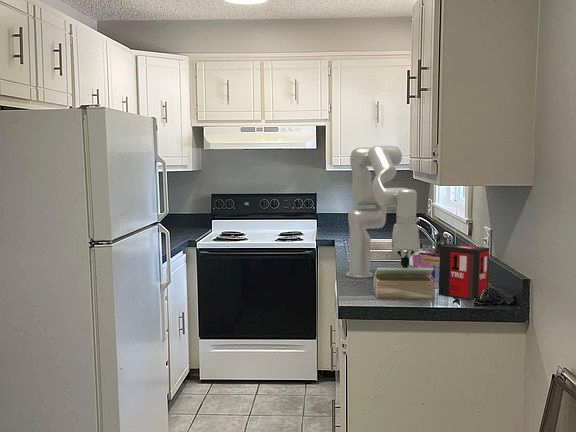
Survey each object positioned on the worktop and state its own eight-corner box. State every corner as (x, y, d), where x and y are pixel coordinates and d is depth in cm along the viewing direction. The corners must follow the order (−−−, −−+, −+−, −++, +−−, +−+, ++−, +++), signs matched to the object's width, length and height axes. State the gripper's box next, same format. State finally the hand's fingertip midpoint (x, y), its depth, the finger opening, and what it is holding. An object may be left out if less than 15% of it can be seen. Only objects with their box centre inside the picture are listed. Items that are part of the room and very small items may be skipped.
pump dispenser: (426, 270, 297) (427, 240, 295) (439, 268, 304) (440, 238, 302) (444, 274, 289) (445, 242, 288) (456, 271, 296) (458, 240, 294)
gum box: (408, 284, 264) (409, 253, 263) (416, 281, 271) (417, 251, 269) (461, 292, 250) (463, 259, 249) (469, 289, 256) (470, 257, 255)
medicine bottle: (412, 263, 318) (412, 240, 317) (425, 264, 314) (425, 241, 313) (406, 265, 312) (407, 242, 311) (419, 266, 308) (420, 243, 307)
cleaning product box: (438, 295, 245) (440, 245, 243) (448, 291, 251) (450, 243, 249) (477, 301, 234) (479, 250, 232) (487, 297, 240) (489, 247, 238)
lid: (374, 275, 246) (374, 274, 246) (427, 276, 246) (427, 274, 247) (378, 269, 237) (377, 267, 237) (433, 269, 237) (432, 267, 237)
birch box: (373, 293, 247) (373, 276, 246) (427, 293, 247) (427, 276, 247) (377, 298, 237) (377, 281, 236) (433, 299, 237) (433, 281, 237)
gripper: (423, 220, 240) (421, 265, 242) (385, 219, 240) (384, 265, 242) (427, 222, 233) (426, 269, 235) (388, 221, 233) (387, 269, 235)
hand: (404, 267), depth 238 cm, fingers closed
